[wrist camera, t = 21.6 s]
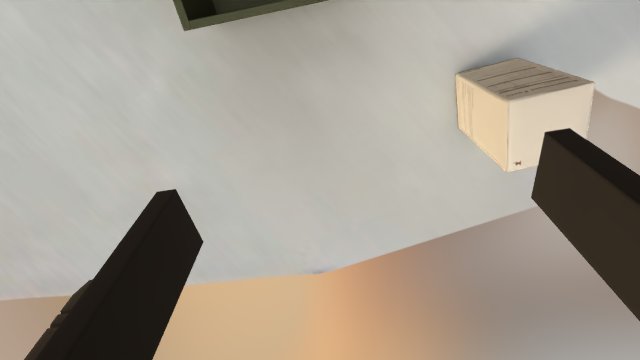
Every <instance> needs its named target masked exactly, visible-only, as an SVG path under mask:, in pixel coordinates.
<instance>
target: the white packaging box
mask: <svg viewBox="0 0 640 360" xmlns="http://www.w3.org/2000/svg"><path fill="white" fill-rule="evenodd" d="M594 87H595V82H593V81H589V80H586V79H583V78H580V77H577V76H574V75H570V74H567V73H564V72H561V71H557V70H554V69H551V68H548V67H545V66H541V65H538V64H535V63H532V62H529V61H526V60H523V59H519V58H516V59H512V60H508V61H504V62H501V63H497V64H493V65H489V66H485V67H481V68H477V69H473V70H469V71H465V72H461V73H457V74H456V91H457V108H458V124H459V128H460V129H461V130H462V131H463V132H464V133H465V134H466V135H467V136H468V137H469V138H471V139H472V140H473V141H474V142H475V143H476V144H477V145H478V146H479V147H480V148H481V149H482V150H483V151H484V152H485V153H487V154H488V155H489V156H490V157H491V158H492V159H493V160H494V161H495V162H496V163H497V164H498V165H499V166H500V167H502V168H503V169H504V170H505V171H506V172H510V171H514V170H519V169H523V168H528V167H533V166H537V165H538V163H539V158H540V153H541V148H542V144H543V139H544V134H545V132H548V131H554V130H561V129H567V128H570V129H572V130H573V131H575V132H576V133H578V134H579V135H580V136H582V137H583V138H585V139H586V140H587V133H588V127H589V120H590V113H591V106H592V100H593V94H594Z"/></svg>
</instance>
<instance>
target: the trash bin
mask: <svg viewBox="0 0 640 360" xmlns="http://www.w3.org/2000/svg"><path fill="white" fill-rule="evenodd" d="M173 1H174V4H175V7H176V10H177V13H178V15H179V18H180V21H181V24H182V26H183V29H184V31H187V30H192V29H197V28H201V27H206V26H211V25H215V24H220V23H225V22H229V21H234V20H239V19H243V18H248V17H253V16H257V15H262V14H267V13H271V12H276V11H281V10H285V9H290V8H295V7H299V6H304V5H309V4H313V3H318V2H323V1H327V0H173Z"/></svg>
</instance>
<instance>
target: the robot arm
mask: <svg viewBox="0 0 640 360" xmlns="http://www.w3.org/2000/svg"><path fill="white" fill-rule="evenodd" d="M531 198H532V199H533V200H534V201H535V202H536V204H537V205H538V206H539V207H540V208H541V209H542V210H543V211H544V212H545V214H546V215H547V216H548V217H549V218H550V220H551V221H552V222H553V223H554V224H555V225H556V226H557V227H558V229H559V230H560V231H561V232H562V233H563V234H564V235H565V237H566V238H567V239H568V240H569V241H570V242H571V243H572V245H573V246H574V247H575V248H576V249H577V250H578V251H579V253H580V254H581V255H582V256H583V257H584V258H585V259H586V261H587V262H588V263H589V264H590V265H591V266H592V267H593V268H594V270H595V271H596V272H597V273H598V274H599V275H600V276H601V277H602V279H603V280H604V281H605V282H606V283H607V284H608V285H609V287H610V288H611V289H612V290H613V291H614V292H615V293H616V295H617V296H618V297H619V298H620V299H621V300H622V302H623V303H624V304H625V305H626V306H627V307H628V308H629V309H630V311H631V312H632V313H633V314H634V315H635V316H636V317H637V319H638V320H639V321H640V176H639V175H638V174H636V173H635V172H633V171H632V170H631V169H629V168H628V167H626V166H625V165H623V164H622V163H620V162H619V161H617V160H616V159H614V158H613V157H611V156H610V155H609V154H607V153H605V152H604V151H603V150H601V149H600V148H598V147H597V146H595V145H594V144H592V143H591V142H589V141H588V140H586V139H585V138H583V137H582V136H580V135H579V134H578V133H576V132H575V131H573V130H572V129H570V128H567V129H561V130H554V131H548V132H545V134H544V139H543V144H542V148H541V153H540V158H539V163H538V168H537V172H536V177H535V182H534V187H533V192H532V196H531ZM202 244H203V240H202V238H201V236H200V234H199V233H198V231H197V229H196V227H195V225H194V223H193V221H192V219H191V217H190V215H189V214H188V212H187V210H186V208H185V206H184V204H183V202H182V200H181V198H180V196H179V195H178V193H177V191H176V189H173V190H167V191H160V192H156V194H155V195H154V197H153V198H152V199H151V201H150V202H149V203H148V205H147V206H146V208H145V209H144V210H143V212H142V213H141V214H140V216H139V217H138V219H137V220H136V221H135V223H134V224H133V225H132V227H131V228H130V230H129V231H128V232H127V234H126V235H125V236H124V238H123V239H122V241H121V242H120V243H119V245H118V246H117V247H116V249H115V250H114V251H113V253H112V254H111V256H110V257H109V258H108V260H107V261H106V262H105V264H104V265H103V267H102V268H101V269H100V271H99V272H98V273H97V275H96V276H95V278H94V279H93V280H89V281H88V282H87V283H86V284H85V285H84V286H82V287H81V288H80V289H79V290H78V291H77V292H76V293H75V294H73V295H72V297H71V298H70V300H69V301H68V302H67V303H66V305H65V306H64V307H63V309H62V310H61V314H60V315H57V317H56V318H55V319H54V321H53V322H52V323H51V325H50V326H51V327H50V328H48V329H47V330H46V331H45V333H44V334H43V335H42V337H41V338H40V339H39V340H38V342H37V343H36V344H35V346H34V347H33V349H32V350H31V351H30V352H29V354H28V355H27V356H26V358H25V359H24V360H152V359H153V357H154V354H155V352H156V350H157V347H158V345H159V343H160V340H161V338H162V336H163V334H164V331H165V329H166V327H167V324H168V322H169V319H170V317H171V315H172V313H173V311H174V308H175V306H176V304H177V301H178V299H179V296H180V294H181V292H182V290H183V287H184V285H185V283H186V281H187V278H188V276H189V274H190V271H191V269H192V267H193V264H194V262H195V260H196V257H197V255H198V253H199V251H200V248H201V246H202Z"/></svg>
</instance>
